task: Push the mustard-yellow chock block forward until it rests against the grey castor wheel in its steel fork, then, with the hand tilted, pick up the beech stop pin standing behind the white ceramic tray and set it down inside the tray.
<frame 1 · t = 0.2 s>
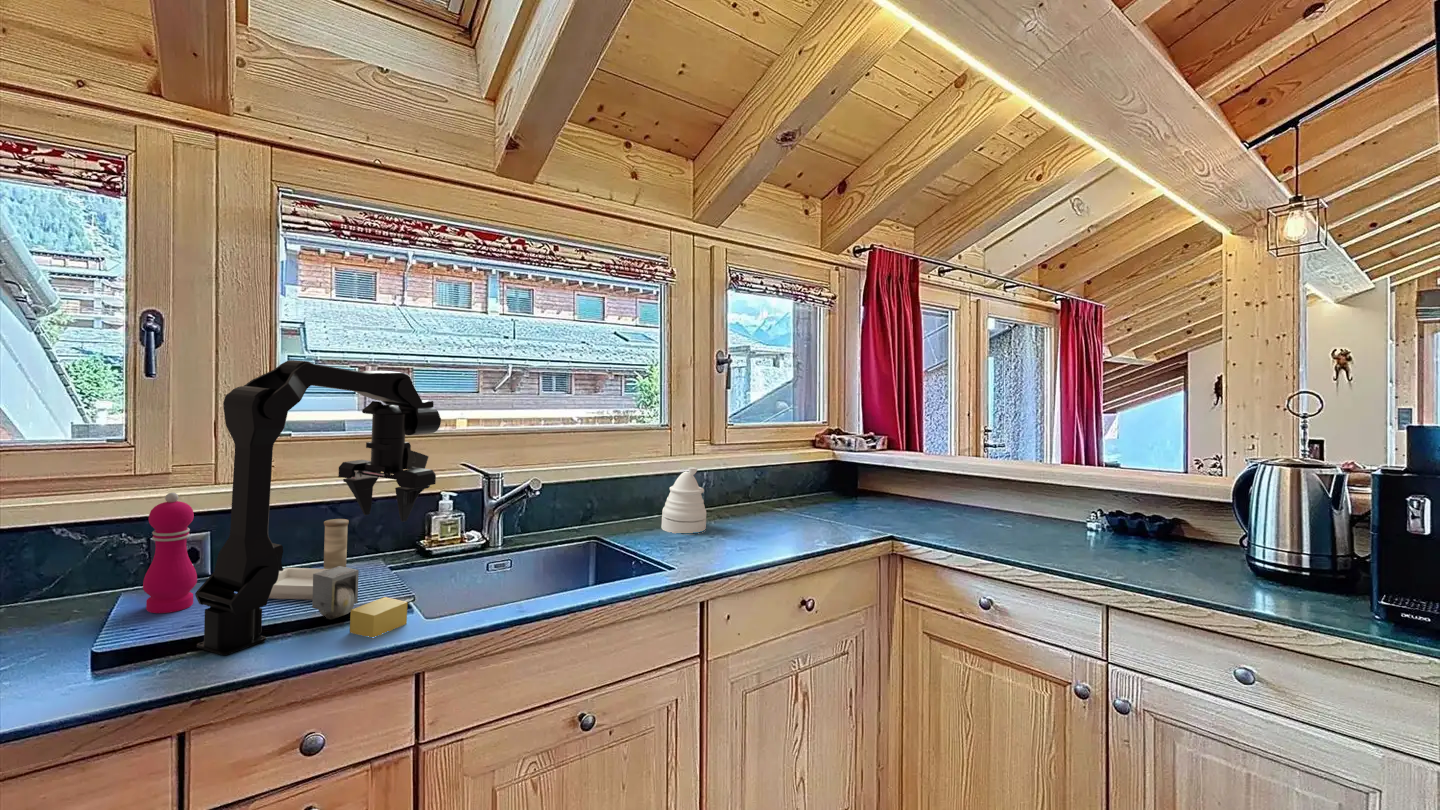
hand: (385, 517, 128), 14 cm above the worktop, tool pointing down, fingers open, 9 cm apart
pepper mill: (170, 608, 115), on the worktop
stop pin: (334, 574, 137), on the worktop
tray: (304, 589, 127), on the worktop
chock: (378, 629, 112), on the worktop
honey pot: (683, 529, 193), on the worktop
wheel bracket: (334, 616, 116), on the worktop
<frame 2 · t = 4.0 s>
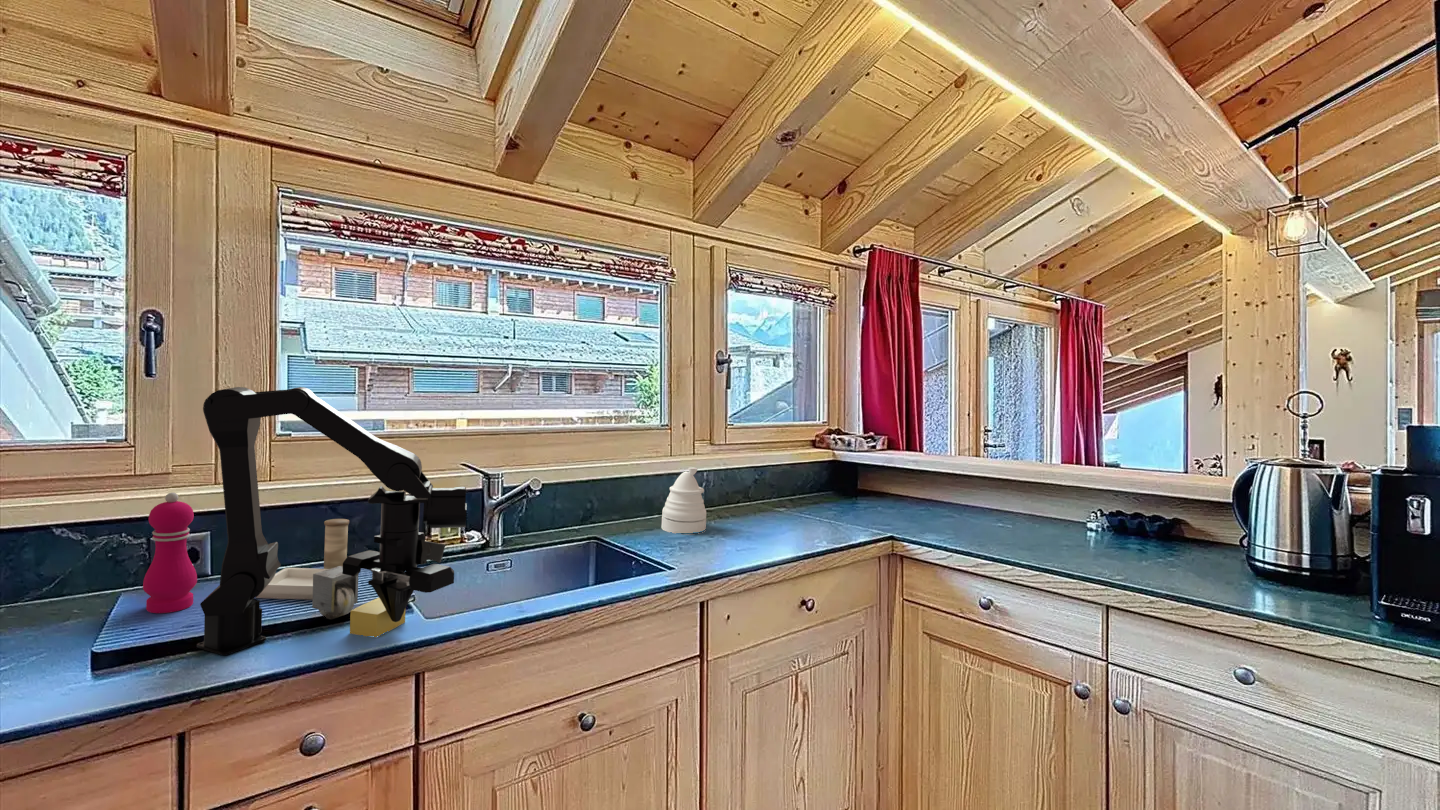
hand: (396, 621, 111), 2 cm above the worktop, tool pointing down, fingers closed
chock: (378, 628, 112), on the worktop, touching gripper
everything else where it was.
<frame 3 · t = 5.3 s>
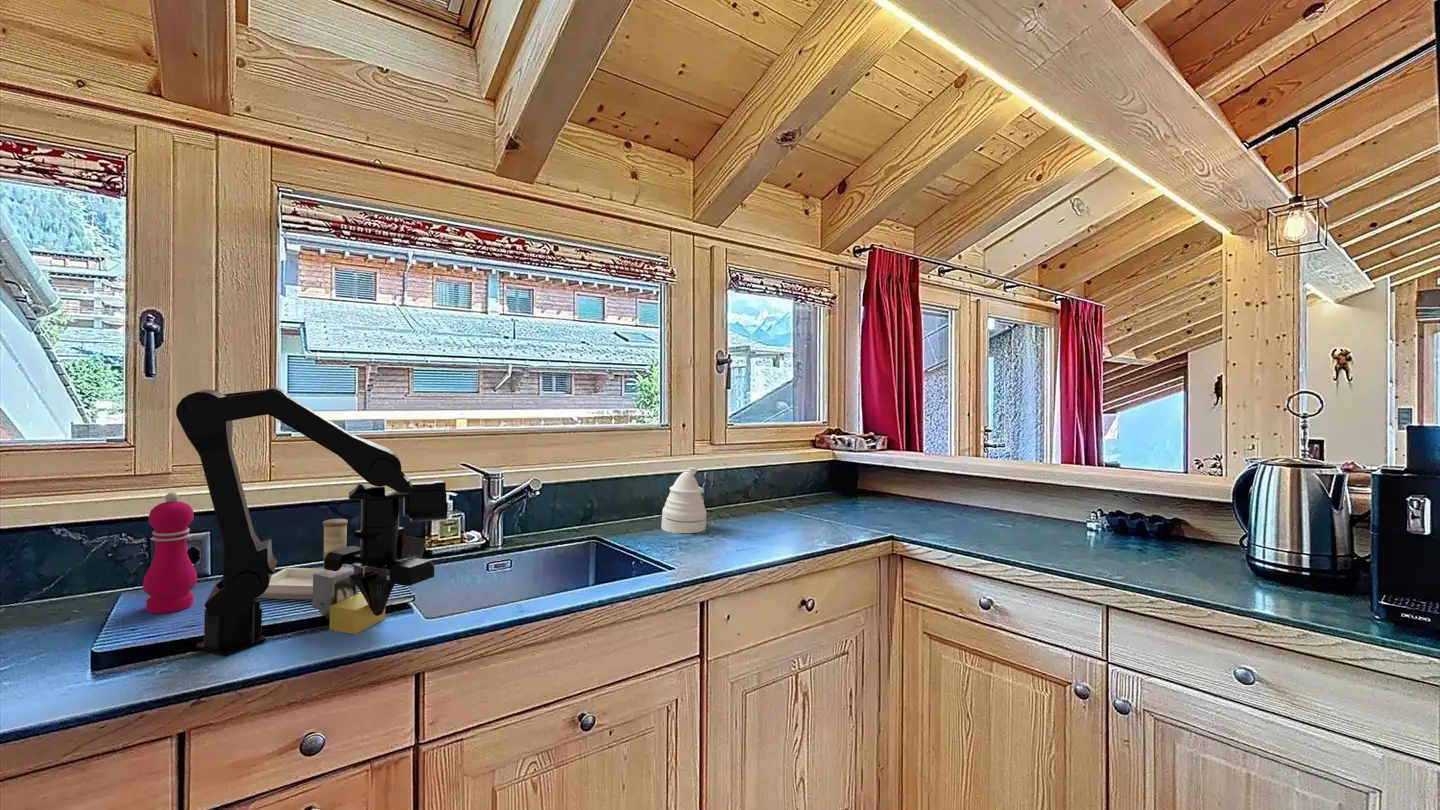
hand: (378, 614, 112), 2 cm above the worktop, tool pointing down, fingers closed
chock: (357, 624, 113), on the worktop, touching gripper, wheel bracket
everything else where it was.
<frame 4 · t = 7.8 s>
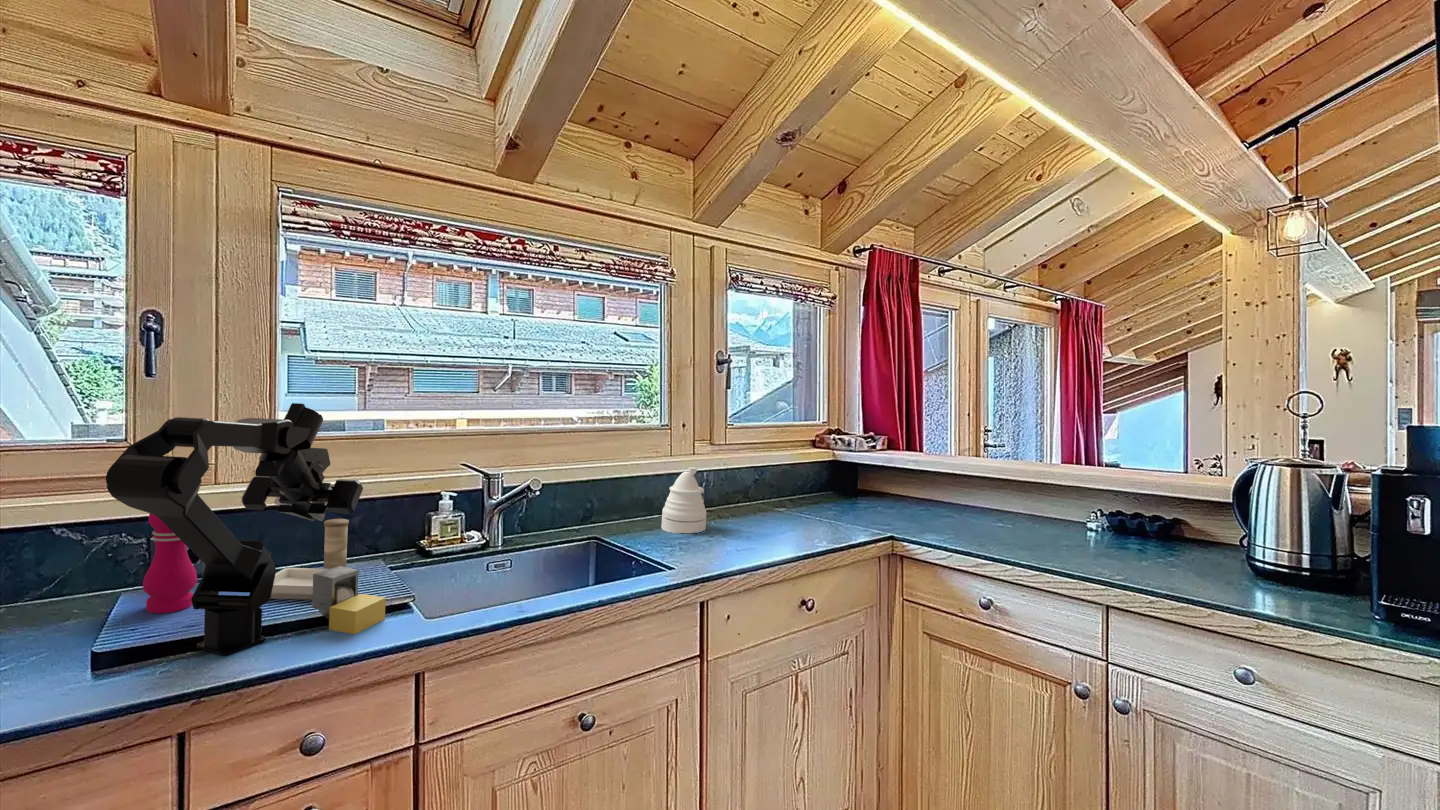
hand: (318, 518, 128), 13 cm above the worktop, tool tilted 45°, fingers closed
chock: (357, 625, 113), on the worktop
everything else where it was.
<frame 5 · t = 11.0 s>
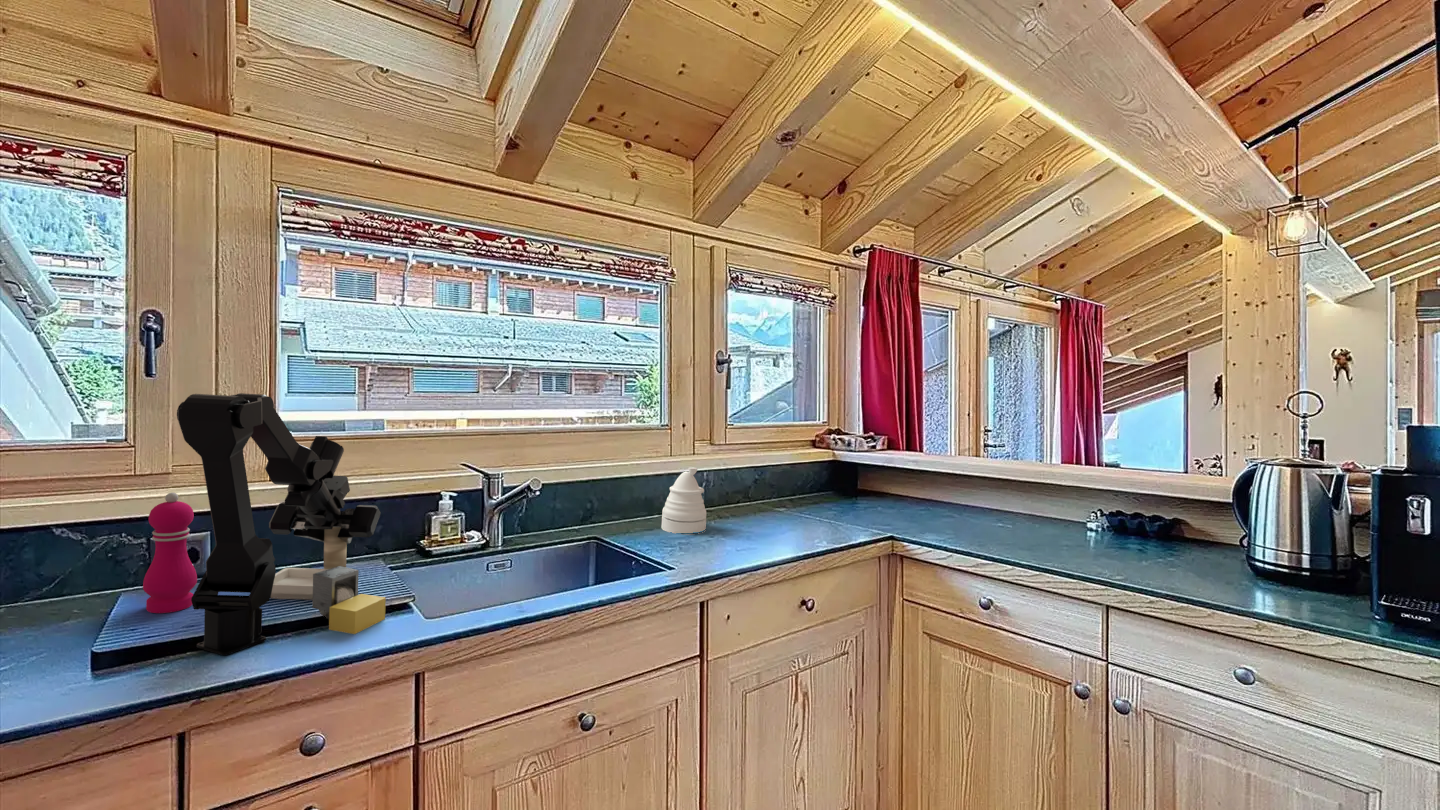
hand: (338, 540, 138), 7 cm above the worktop, tool tilted 45°, fingers closed on stop pin, 4 cm apart
stop pin: (334, 574, 137), on the worktop, touching gripper
everything else where it was.
when the fingers open (9 cm above the worktop, at t = 14.0 s): stop pin drops 1 cm, resting on tray.
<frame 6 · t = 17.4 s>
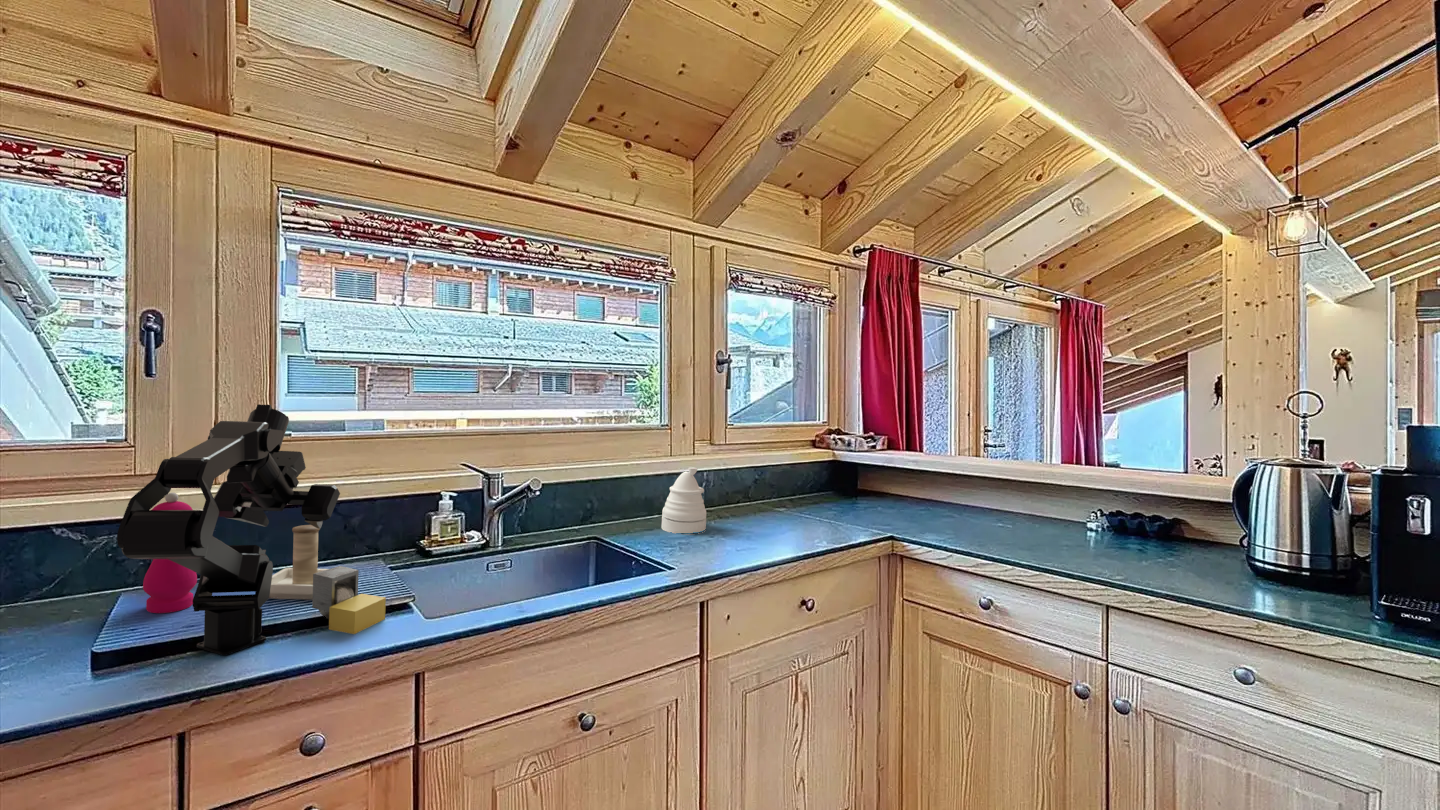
hand: (293, 525, 122), 14 cm above the worktop, tool tilted 45°, fingers open, 9 cm apart
stop pin: (304, 584, 127), point 1 cm above the worktop, touching tray
everything else where it was.
at the end: chock 0.5 cm from the target spot on the worktop beside the wheel bracket, on the worktop; stop pin inside the target area on the tray (0.1 cm from its centre), point 1.0 cm above the tray's base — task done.
